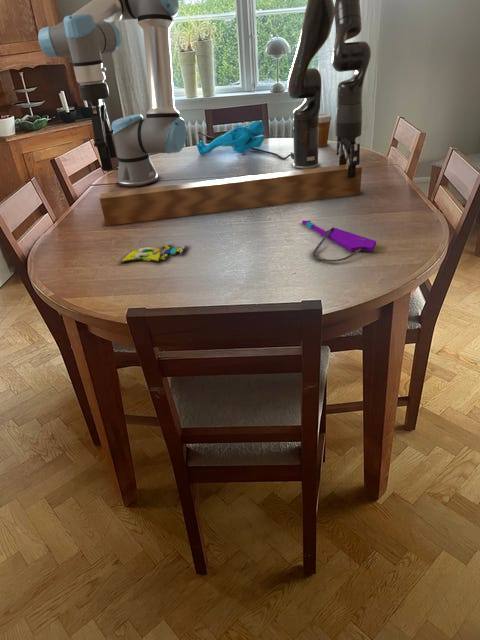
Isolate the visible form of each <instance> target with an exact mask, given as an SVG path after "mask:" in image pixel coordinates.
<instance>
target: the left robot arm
mask: <svg viewBox="0 0 480 640" xmlns="http://www.w3.org/2000/svg"><path fill="white" fill-rule="evenodd" d="M179 8H180V6H179V0H91V1H89V2H88V3H86V4H85V5H83V6H82V7H81V8H80V9H78V10H76V11H75V12H73V13H72V14H71V15H66V16H64V18H63V20H62V21H61V22H59V23H57V24H56V25H53V26H52V25H51V26H50V25H48V26H45V27H42V28H40V29H39V31H38V34H37V39H38V40H37V41H38V45H39V47H40V49H41V51H42V53H43V54H44V55H45V56H46V57H47V58H57V59H61V58H68V57H69V58H70V57H71V60H72V67H73V71H74V76H75V80H76V83H77V84H79V85H78V91H79V96H80V99H81V100H82V101H83V102H84V101H85V102H88V101H89V102H90V105H89V106H88V109H89V114H90V119H91V125H92V132H93V137H94V143H93V147H94V148H97V151H98V156H99V160H100V164H101V166H100V167H101V168H100V169H101V170H102V171H104V172H112V171H117V183H118V186H120V187H123V188H124V187H125V188H136V187H137V188H138V187H145V186H147V185H148V186H149V185H151V184H154V183H156V182H157V181H158V180H159V176H158V172H157V169H156V168H155V166H154V163H153V161H152V159H151V156H150V154H167V155H169V154H170V155H171V154H176V153H180V152H181V151H182V150H183V149H184V146H185V145H186V141H187V125H186V121H185V120H184V118H182V117H180V111H179V110H177V109H176V106H175V96H174V95H175V94H174V81H173V79H174V78H173V68H172V67H173V66H172V53H171V52H172V51H171V38H170V30H171V27H172V26H173V25H174V17H176V16H177V15H178V14H179ZM127 20H128V21H129V20H137V24H138V25H139V27H140V28H141V29H142V31H143V33H142V34H143V44H144V56H145V67H146V78H147V79H146V80H147V91H148V100H149V109H148V110H147V111H146V112H145V115H146V116H145V118H144V116H143V114H140V113H138V114H133V115H132V114H131V115H128V116H124V117H121V118H118V119H115V120H113V121H112V122H111V123H110V119H109V115H108V111H107V107H106V104H105V99H108V98H109V97H110V91H109V87H108V83H107V82H105V80H106V79H107V78H106V74H105V72H107V67H105V66H104V64H103V58H102V55H107V54H109V55H110V54H111V55H112V54H113V53H115V52H117V51H119V49H120V48H121V46H122V34H121V31H120V29H119V28H118V26H117V25H116V24H117V23H118V22H120V21H127ZM114 158H115V159H116V158H117V160H118V167H113V163H112V159H114Z"/></svg>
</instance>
